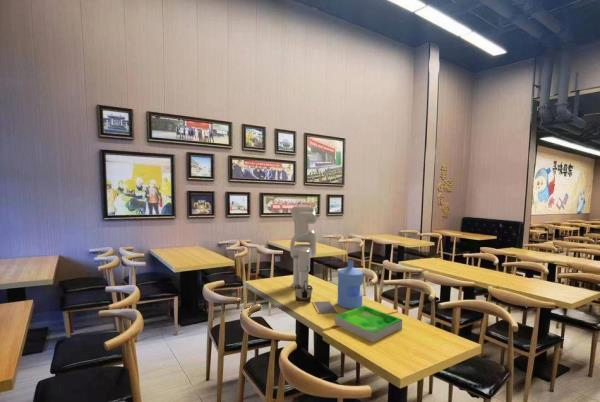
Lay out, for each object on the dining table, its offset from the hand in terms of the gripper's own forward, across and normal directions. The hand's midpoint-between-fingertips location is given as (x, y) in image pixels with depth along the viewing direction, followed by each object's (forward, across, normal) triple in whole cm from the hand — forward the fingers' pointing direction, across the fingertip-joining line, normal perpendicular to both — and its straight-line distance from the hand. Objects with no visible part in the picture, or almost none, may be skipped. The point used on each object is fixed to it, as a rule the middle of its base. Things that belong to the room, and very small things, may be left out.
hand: (303, 295), depth 198 cm
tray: (+4, +41, +28) cm, 50 cm away
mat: (+3, +13, +11) cm, 17 cm away
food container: (+4, 0, 0) cm, 4 cm away
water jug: (+4, +10, +28) cm, 30 cm away
